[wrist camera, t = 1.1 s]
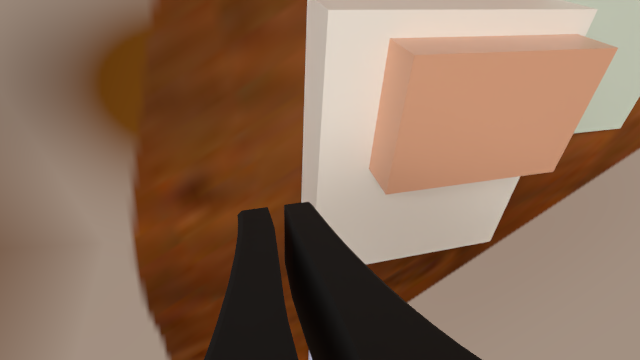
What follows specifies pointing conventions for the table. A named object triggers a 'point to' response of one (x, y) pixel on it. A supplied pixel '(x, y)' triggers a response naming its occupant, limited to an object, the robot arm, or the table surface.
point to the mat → (614, 63)
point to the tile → (481, 107)
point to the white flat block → (362, 109)
